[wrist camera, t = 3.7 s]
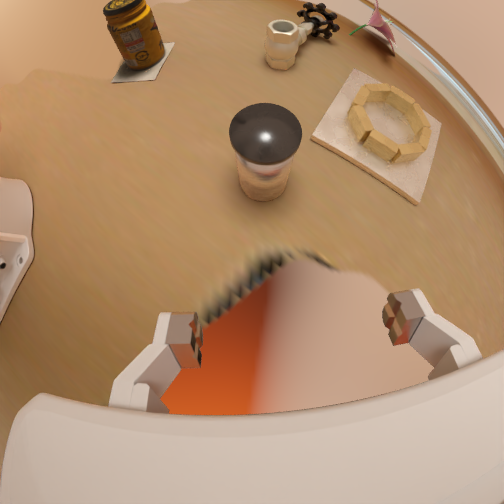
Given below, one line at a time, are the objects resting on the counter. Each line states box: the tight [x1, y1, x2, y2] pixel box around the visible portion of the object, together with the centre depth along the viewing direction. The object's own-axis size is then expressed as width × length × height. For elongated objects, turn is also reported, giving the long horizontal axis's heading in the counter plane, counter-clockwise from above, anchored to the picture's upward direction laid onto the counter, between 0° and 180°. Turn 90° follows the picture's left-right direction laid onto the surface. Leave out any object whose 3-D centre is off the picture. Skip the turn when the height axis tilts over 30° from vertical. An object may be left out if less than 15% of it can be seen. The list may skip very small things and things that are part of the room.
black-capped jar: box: [229, 103, 302, 202], centre depth 23 cm, size 5×5×9 cm
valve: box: [265, 2, 340, 70], centre depth 27 cm, size 7×7×12 cm
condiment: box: [103, 0, 175, 82], centre depth 25 cm, size 7×8×12 cm
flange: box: [311, 68, 441, 205], centre depth 27 cm, size 14×14×3 cm
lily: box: [349, 0, 397, 55], centre depth 28 cm, size 12×12×10 cm
